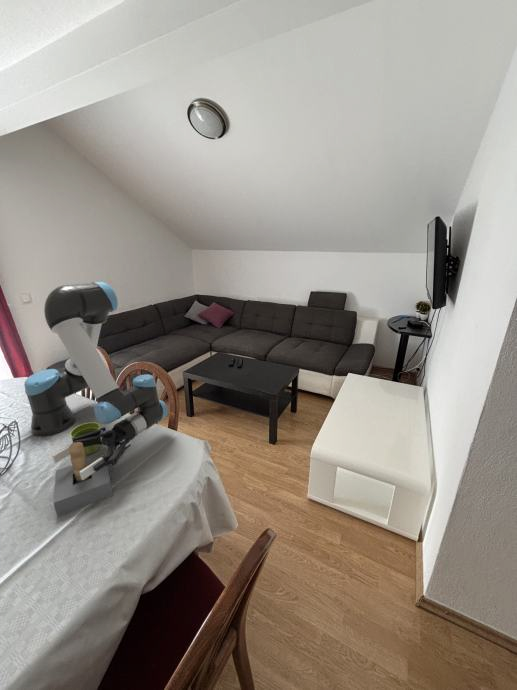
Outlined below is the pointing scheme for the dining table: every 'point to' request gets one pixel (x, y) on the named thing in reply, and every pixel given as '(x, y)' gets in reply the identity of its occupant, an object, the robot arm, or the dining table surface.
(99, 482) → the socket block
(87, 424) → the plant pot
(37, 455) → the dining table surface
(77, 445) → the oak dowel
